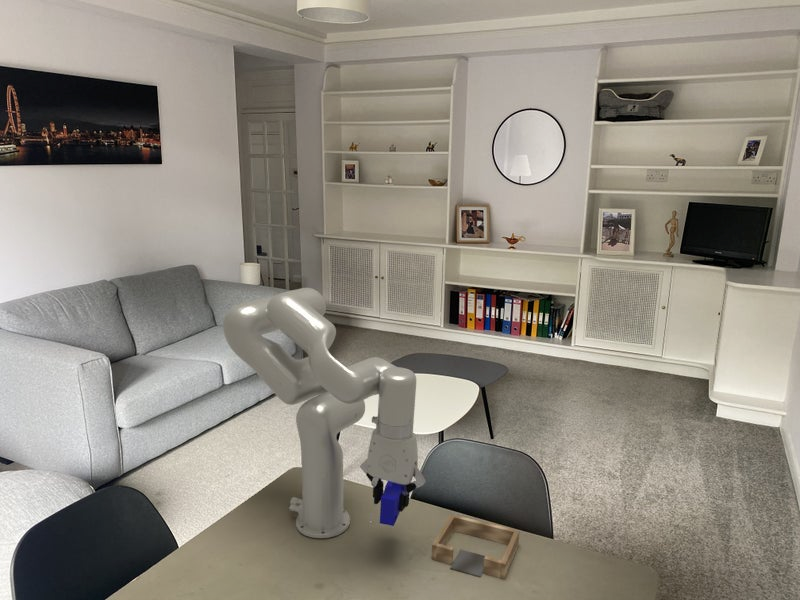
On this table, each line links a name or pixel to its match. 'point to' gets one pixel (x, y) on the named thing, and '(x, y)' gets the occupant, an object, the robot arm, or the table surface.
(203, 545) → the table surface
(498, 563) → the walled box
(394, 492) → the blue stepped block
